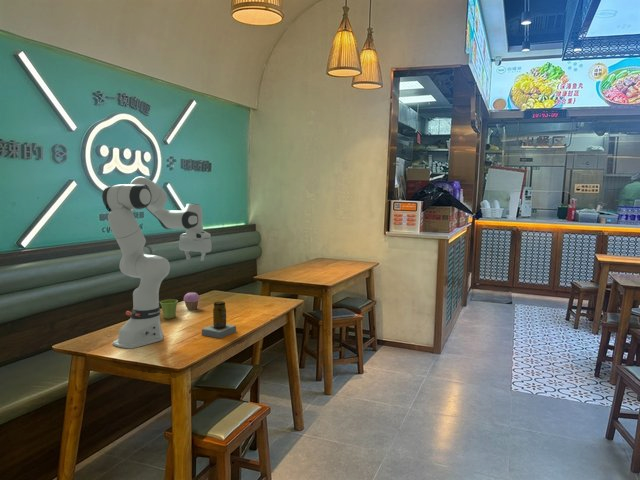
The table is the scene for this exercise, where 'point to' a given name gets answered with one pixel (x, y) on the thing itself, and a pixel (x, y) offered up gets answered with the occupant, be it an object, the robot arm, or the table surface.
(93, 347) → the table surface
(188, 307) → the cupcake
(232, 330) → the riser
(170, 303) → the plant pot
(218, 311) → the condiment
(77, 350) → the table surface
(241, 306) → the table surface
